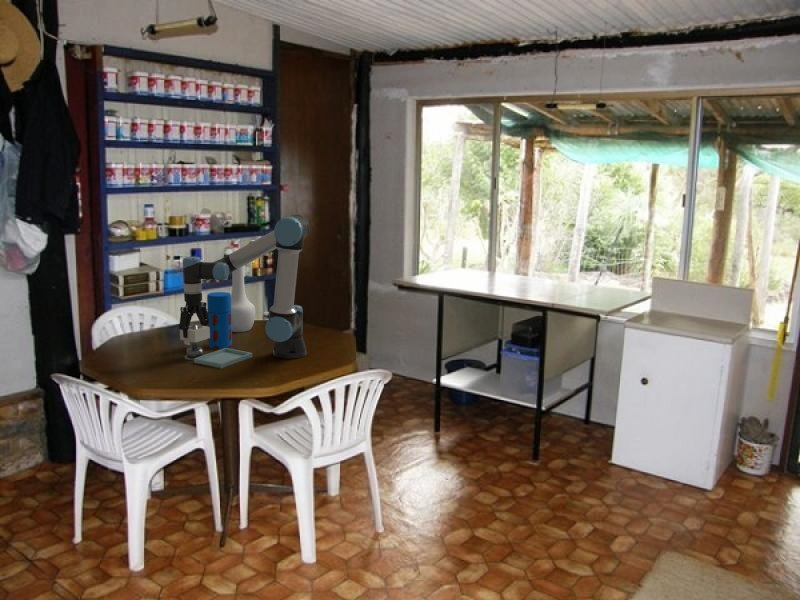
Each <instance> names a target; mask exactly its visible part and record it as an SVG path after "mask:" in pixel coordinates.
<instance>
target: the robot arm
mask: <svg viewBox="0 0 800 600" xmlns="http://www.w3.org/2000/svg"><path fill="white" fill-rule="evenodd" d="M309 233H310V224H309V221H308V220H307V218H306V217H304V216H303V215H301V214H292V215H289V216H284V217H282V218H281V219H280V220H278V221H277V223H276V224H275V225H274V229H273V230H272V231H270V232H269V233H266V234H265V235H263V236H261V237H259V238H257V239H255V240H253V241H252V242H250V243H248V244H246V245H244V246H242V247H240V248H239V249H237V250H234V251H233V252H231V253H229V254H227V255H226V256H223V257H222V258H220V259H217V260H215V261H213V262H210V261H207V262H206V261H202V259H201V258H200V257H199V256H186V257H184V258H183V259H182V275H183V276H182V277H183V292H184V294H183V295H184V296H183V298H184V299H183V300H184V302H185V306H181V307H180V308H179V310H180V318H179V325H178V330H179V331H180V330H183V337H184V340H183V342H184V345H187V346H191V342H190V330H188V329H189V326H191V321H192V318H193V316H194V314H196V317H197V319H198V321H199V323H200V324H199V325H200V326H207V327H208V323H209V317H208V311H207V302H205V301H204V302H203V293H202V291H203V286H202V285H203V283H202V280H212V281H213V280H215V281H225V280H227V279H228V278H229V275H230V274H231V273H232V272H233V271H235V270H237V269H238V268H240V267H242V266H244V267H245V266H246V265H248V264H251V263H252V262H253V261H255V260H257V259H259V258H261V257H263V256H265V255H266V254H270V252H272V251H274V250H276V249H277V250H278V254H277V266H276V273H275V274H276V275H275V276H276V277H275V286H274V299H273V305H272V306H271V307H269V312H268V320H266V323H265V326H264V330H265V333H266V335H267V337H268V338H269V339H270V340H272V341H274V342H275V343H274V345H273V350H272V355H273V357H275V358H279V359H285V360H286V359H288V360H289V359H290V360H292V359H293V360H294V359H300V358H303V357H305V356H307V347H306V344H305V341H304V337H303V332H304V331H303V330H304V329H303V327H304V326H303V325H304V323H303V322H304V321H303V314H304V312H303V307H302V306H301V305H298V304H295V294H296V286H297V275H298V266H299V257H300V255H299V254H300V252H302V251H303V250H304V243H305V241H304V240H305V239H306V238H307V236H308V235H309ZM185 327H186V328H185ZM206 340H207V339H205V340H204V341H206Z"/></svg>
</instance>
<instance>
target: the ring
mask: <svg viewBox="0 0 800 600" xmlns="http://www.w3.org/2000/svg"><path fill="white" fill-rule="evenodd" d="M200 325H201V324H197V329H196V330H193V329H191V325H189V329H188V330H190V343H191V342H198V343H199V342H200V341H201V342H202V341H206V340H208V338H210V327H208V325H207V326H200ZM185 328H186V327H185ZM205 339H206V340H205ZM179 341H184V337H183V330H180V329H179Z"/></svg>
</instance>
